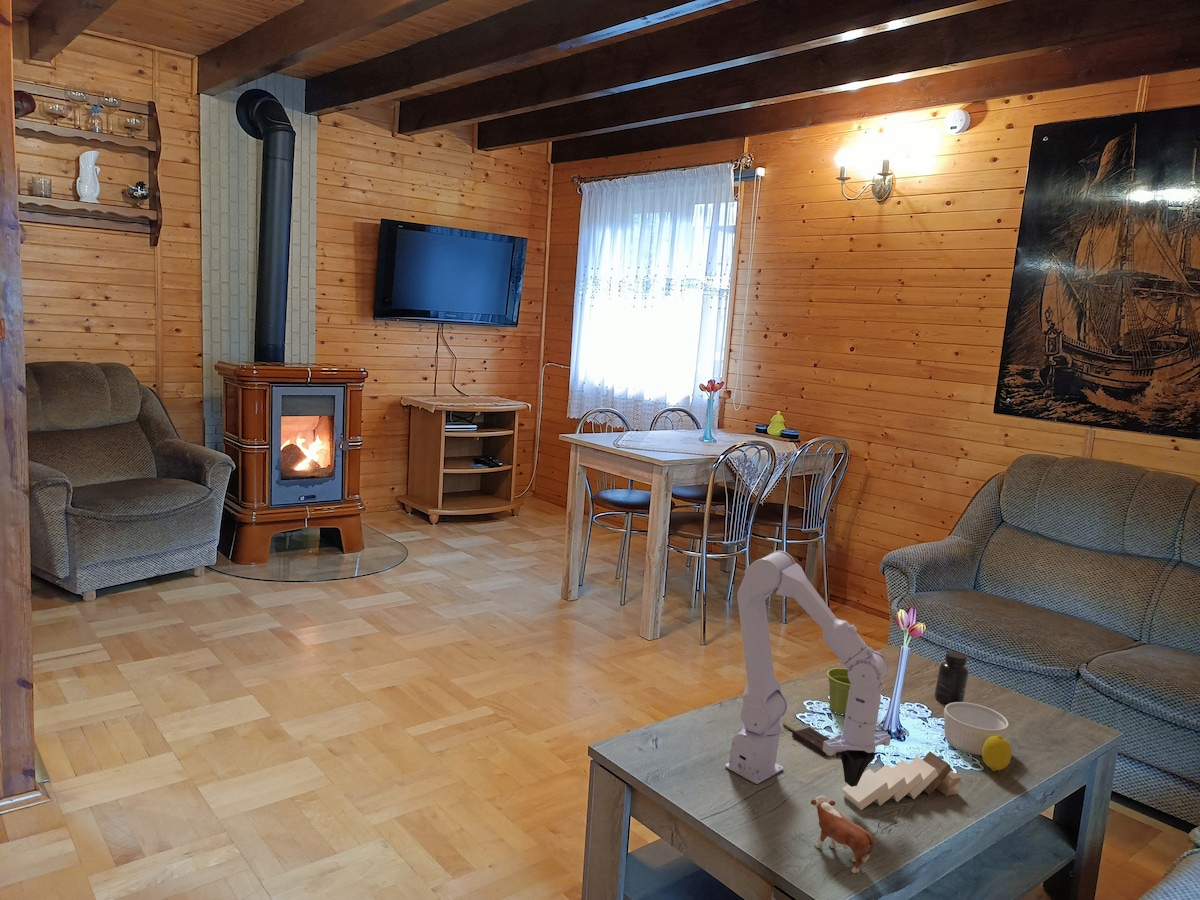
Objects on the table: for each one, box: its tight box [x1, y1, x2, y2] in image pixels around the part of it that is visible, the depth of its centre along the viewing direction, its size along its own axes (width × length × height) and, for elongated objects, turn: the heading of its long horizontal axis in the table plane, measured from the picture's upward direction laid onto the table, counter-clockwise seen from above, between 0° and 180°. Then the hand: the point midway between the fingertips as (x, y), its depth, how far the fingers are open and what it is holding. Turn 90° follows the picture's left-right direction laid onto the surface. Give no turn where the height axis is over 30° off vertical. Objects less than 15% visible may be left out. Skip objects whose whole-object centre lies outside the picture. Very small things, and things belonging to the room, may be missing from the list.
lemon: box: [981, 735, 1012, 772], centre depth 182 cm, size 6×6×8 cm
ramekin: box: [943, 701, 1009, 757], centre depth 193 cm, size 13×13×7 cm
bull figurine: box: [810, 795, 875, 874], centre depth 148 cm, size 4×13×8 cm, turn 32°
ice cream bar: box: [782, 720, 840, 758], centre depth 188 cm, size 5×2×15 cm
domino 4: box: [906, 756, 938, 800], centre depth 171 cm, size 2×5×7 cm
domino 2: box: [873, 763, 907, 807], centre depth 168 cm, size 2×5×7 cm
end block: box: [935, 770, 962, 797], centre depth 174 cm, size 3×7×4 cm, turn 25°
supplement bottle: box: [934, 650, 970, 705], centre depth 214 cm, size 7×7×12 cm
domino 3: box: [890, 759, 923, 803], centre depth 170 cm, size 2×5×7 cm
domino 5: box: [922, 751, 952, 796], centre depth 173 cm, size 2×5×7 cm
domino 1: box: [841, 768, 889, 811], centre depth 166 cm, size 2×5×7 cm
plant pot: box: [826, 667, 851, 715], centre depth 203 cm, size 9×9×9 cm
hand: (850, 783), depth 164 cm, fingers closed
